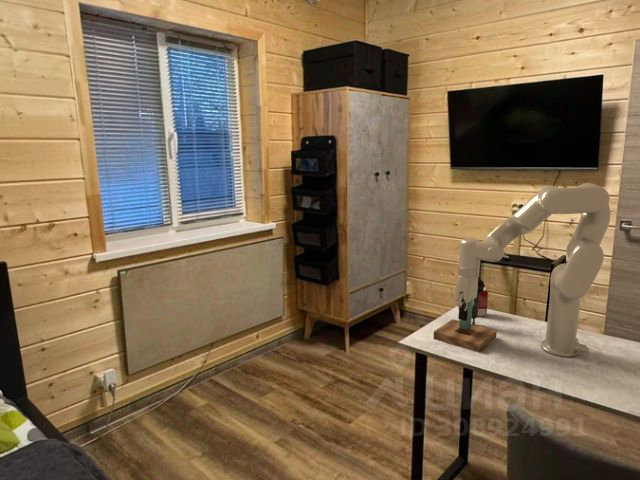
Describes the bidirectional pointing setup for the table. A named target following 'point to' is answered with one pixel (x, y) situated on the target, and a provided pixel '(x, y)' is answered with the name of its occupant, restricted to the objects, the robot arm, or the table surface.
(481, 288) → the microphone
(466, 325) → the peg
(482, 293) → the soda can
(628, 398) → the table surface
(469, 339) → the socket board
